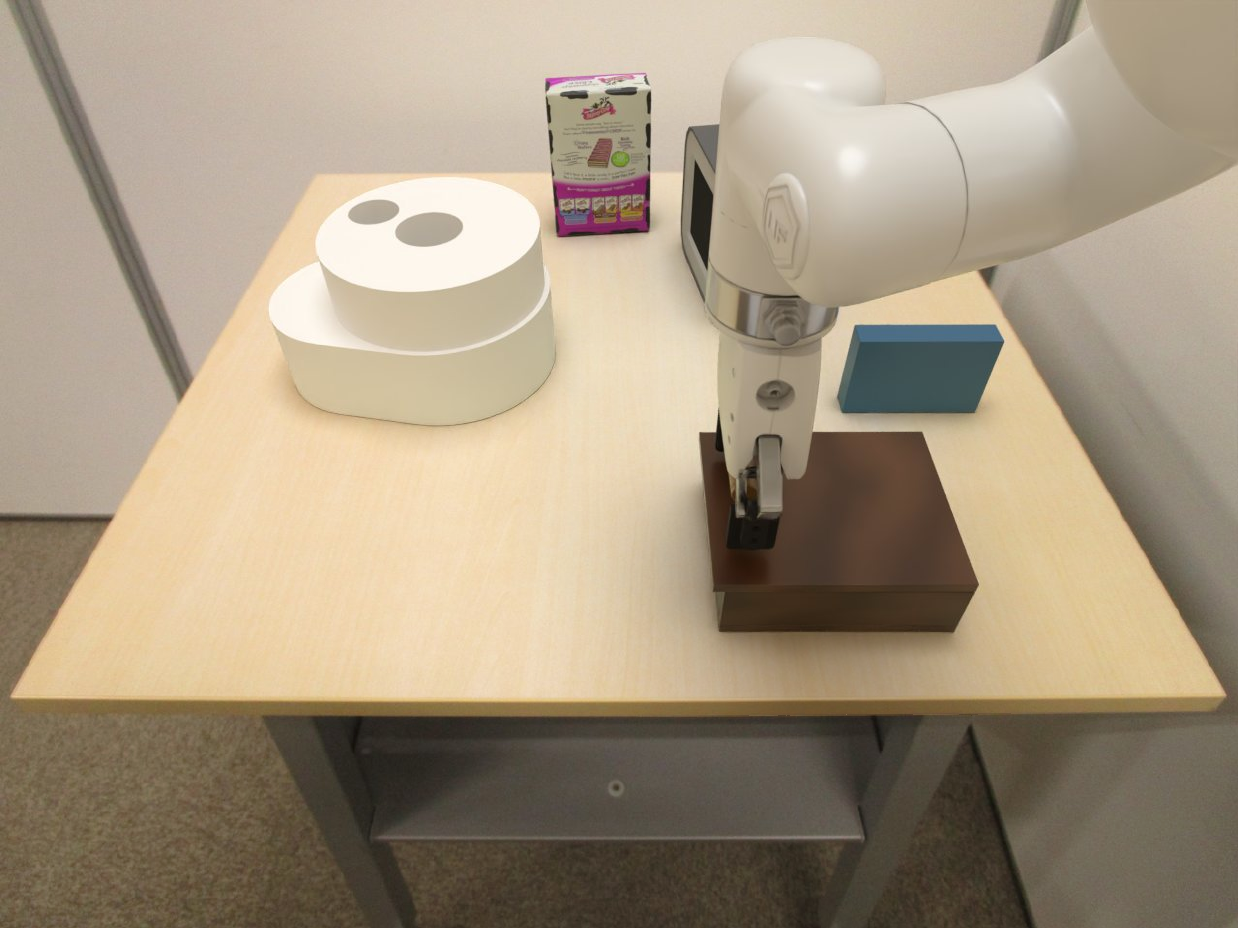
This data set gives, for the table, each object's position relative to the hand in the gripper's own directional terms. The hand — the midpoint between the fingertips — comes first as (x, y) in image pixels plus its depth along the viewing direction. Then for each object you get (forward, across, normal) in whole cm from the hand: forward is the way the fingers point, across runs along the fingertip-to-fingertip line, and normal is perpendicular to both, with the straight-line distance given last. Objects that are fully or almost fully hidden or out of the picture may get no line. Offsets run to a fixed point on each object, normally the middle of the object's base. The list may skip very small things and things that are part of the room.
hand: (742, 494), depth 58 cm
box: (+6, 0, -7) cm, 9 cm away
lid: (+2, 0, -6) cm, 6 cm away
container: (+7, +24, +28) cm, 37 cm away
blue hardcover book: (+6, +17, -17) cm, 25 cm away
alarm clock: (+7, +38, -5) cm, 39 cm away
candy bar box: (+7, +49, +11) cm, 51 cm away
